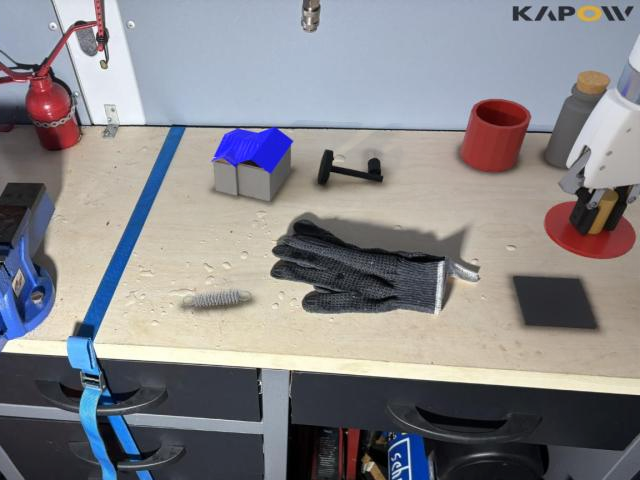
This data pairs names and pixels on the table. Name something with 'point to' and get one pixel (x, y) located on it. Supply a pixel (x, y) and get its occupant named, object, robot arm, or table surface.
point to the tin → (495, 134)
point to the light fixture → (327, 167)
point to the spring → (217, 298)
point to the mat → (553, 302)
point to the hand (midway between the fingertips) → (590, 224)
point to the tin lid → (590, 231)
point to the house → (252, 162)
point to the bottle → (575, 115)
